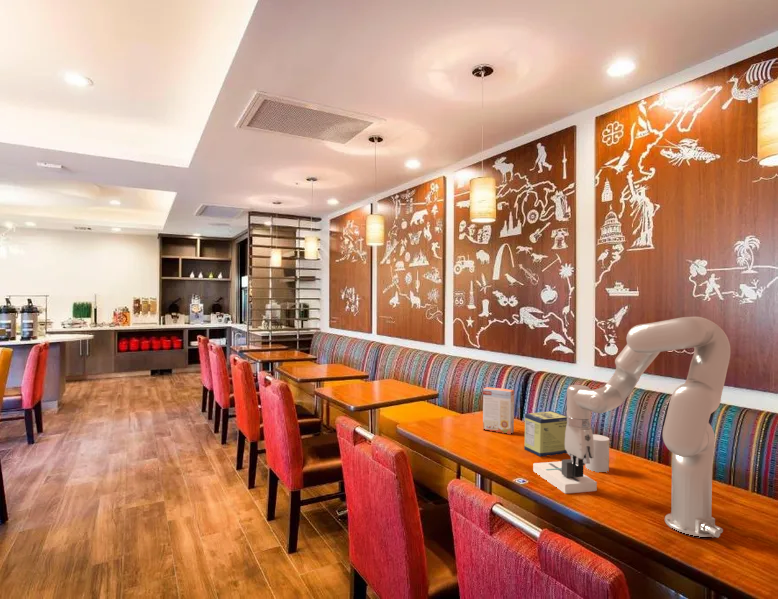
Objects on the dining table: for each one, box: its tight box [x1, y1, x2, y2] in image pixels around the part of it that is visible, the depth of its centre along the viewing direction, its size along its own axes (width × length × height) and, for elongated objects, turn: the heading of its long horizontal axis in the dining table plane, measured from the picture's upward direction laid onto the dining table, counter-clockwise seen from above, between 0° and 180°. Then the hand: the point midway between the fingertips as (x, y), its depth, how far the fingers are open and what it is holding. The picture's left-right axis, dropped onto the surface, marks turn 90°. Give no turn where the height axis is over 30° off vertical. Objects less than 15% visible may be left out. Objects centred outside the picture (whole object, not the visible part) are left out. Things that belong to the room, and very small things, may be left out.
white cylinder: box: [585, 433, 610, 473], centre depth 173 cm, size 8×8×12 cm
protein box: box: [523, 410, 567, 458], centre depth 193 cm, size 10×16×16 cm
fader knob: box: [561, 458, 574, 477], centre depth 157 cm, size 3×5×5 cm, turn 103°
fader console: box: [532, 460, 598, 494], centre depth 161 cm, size 20×12×3 cm, turn 13°
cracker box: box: [482, 386, 515, 435], centre depth 222 cm, size 14×6×21 cm, turn 58°
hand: (577, 476), depth 153 cm, fingers closed
